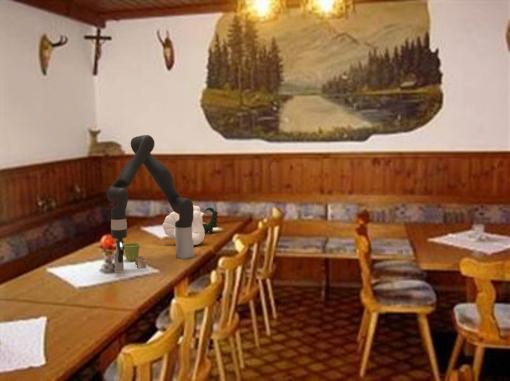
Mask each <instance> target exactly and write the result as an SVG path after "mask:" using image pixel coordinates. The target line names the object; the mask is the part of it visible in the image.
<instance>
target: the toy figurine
mask: <svg viewBox="0 0 510 381" xmlns="http://www.w3.org/2000/svg"><path fill="white" fill-rule="evenodd" d="M207 211H210V213H212V215H211V219H210V222H209V223H203V224H202V225H203V228H204V230H205V231H204V233H205V235H206V233H213V231H214V228H215V229H216V228H217V227H218V224H216V223H218V215H219V212H218V211H217V210H215V209H214V207H206V209H205V212H207Z"/></svg>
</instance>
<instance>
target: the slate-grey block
mask: <svg viewBox="0 0 510 381" xmlns="http://www.w3.org/2000/svg"><path fill="white" fill-rule="evenodd" d="M113 265H114V266H115V268H114V273H115V272H121V273H125V267H124V262H123V263H119V262H118V255H117V251H113Z"/></svg>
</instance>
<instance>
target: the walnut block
mask: <svg viewBox="0 0 510 381" xmlns="http://www.w3.org/2000/svg"><path fill="white" fill-rule="evenodd" d="M134 264H135V266H136V265H137V266H136V267H137V269H138V268H141V269H146V268H147V259H145V257H144V256H143V255H142V256H138V257H135V260H134Z"/></svg>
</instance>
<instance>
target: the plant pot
mask: <svg viewBox="0 0 510 381" xmlns="http://www.w3.org/2000/svg"><path fill="white" fill-rule="evenodd" d="M140 246H141V243H139V242H128V243H124V255H125V258H126V261H127V260H128V261H127V262H135V257H139V251H140V248H141V247H140Z"/></svg>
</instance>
